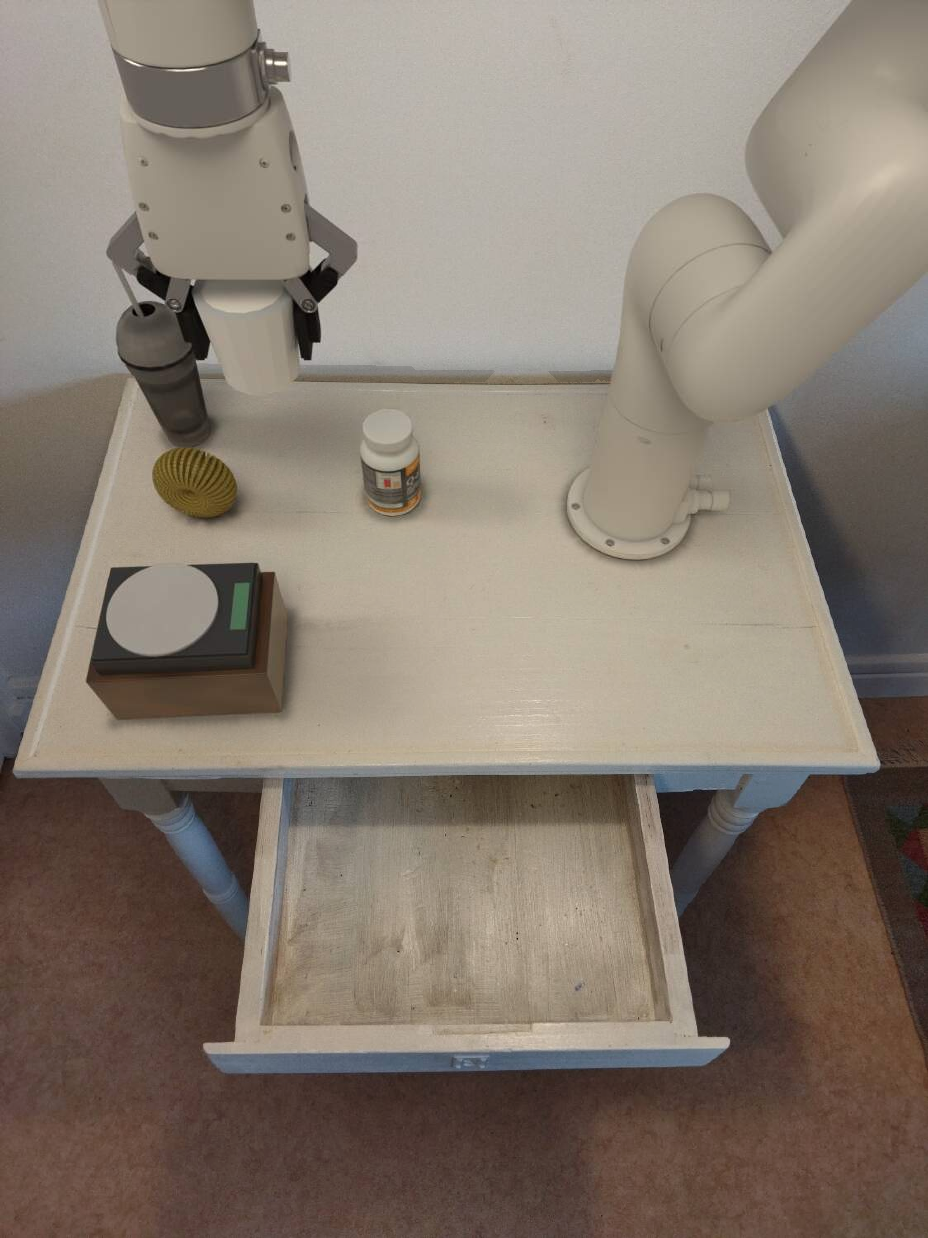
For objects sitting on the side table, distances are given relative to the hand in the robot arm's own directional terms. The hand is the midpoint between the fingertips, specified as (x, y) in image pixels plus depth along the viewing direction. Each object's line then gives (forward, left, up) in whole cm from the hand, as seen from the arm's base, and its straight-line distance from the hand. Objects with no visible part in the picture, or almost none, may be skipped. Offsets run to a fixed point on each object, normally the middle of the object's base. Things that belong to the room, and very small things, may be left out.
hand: (256, 346), depth 57 cm
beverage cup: (+13, -16, -24) cm, 32 cm away
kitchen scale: (+8, +13, -17) cm, 23 cm away
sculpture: (+10, -5, -24) cm, 27 cm away
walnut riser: (+8, +13, -24) cm, 28 cm away
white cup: (0, 0, -2) cm, 2 cm away
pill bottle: (-9, -6, -24) cm, 26 cm away
